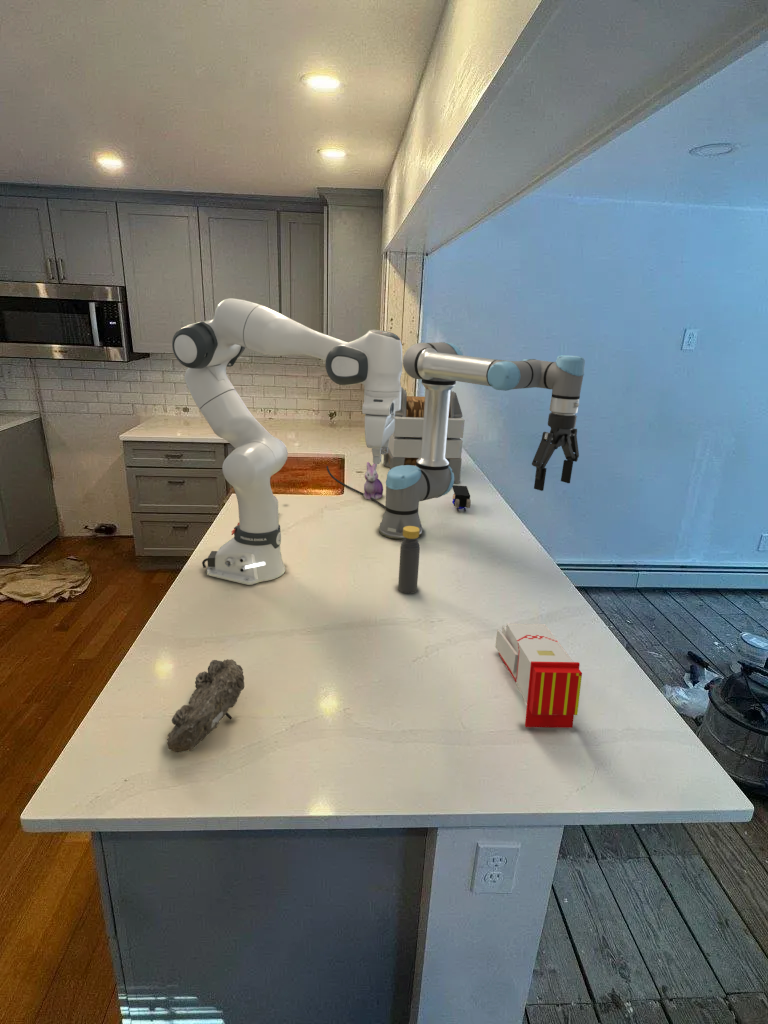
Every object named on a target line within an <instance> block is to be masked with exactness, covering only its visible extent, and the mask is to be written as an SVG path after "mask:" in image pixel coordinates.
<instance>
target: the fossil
mask: <svg viewBox="0 0 768 1024" xmlns="http://www.w3.org/2000/svg"><path fill="white" fill-rule="evenodd" d="M243 670H244V669H243V667H242V665H240V664H237V662H236V661H235V660H234V659H232V658H231V659H227V658H226V659H224V660H223V661H222V660H217V659H212V660H211V661H210V663H209V665H208V666H207V671H201V672H199V673H198V674H197V675H196V676H195V680H194V684H195V685H194V687H195V689H194V690H193V693H192V694H191V697H190V698H189V700H188V704H184V705H182V706H181V707H180V709H177V710H176V711H175V713H174V715H173V716H172V718H171V723H172V724H173V727H172V730H171V731H170V732H168V734H167V738H166V741H167V742H166V745H167V749H168V750H169V751H173V752H174V753H176V754H178V753H182V752H188V751H189V752H192V751H193V750H195V748H196V747H197V746H199V744H200V743H201V742H203V741H204V740H205V739H206V738H207V737H208V736H209V735H210V734H211V733H212V732H214V730H215V729H217V727H218V726H219V724H220V722H221V721H222V720H223V719H224V718H225V716H226V717H227V719H229V720H233V717H232V715H230V714H229V710H230V709H231V708H234V706H235V704H236V703H237V702H238V699H239V697H240V695H241V693H242V691H243V690H245V689H244V688H245V675H244V671H243Z"/></svg>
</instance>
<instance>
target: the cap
mask: <svg viewBox="0 0 768 1024" xmlns="http://www.w3.org/2000/svg"><path fill="white" fill-rule="evenodd" d="M419 532H420V530H419V528H418V527H415V526H406V527H404V528H403V536H404V537H405V538H409V539H415V538H417V539H418V538H420V537H419Z"/></svg>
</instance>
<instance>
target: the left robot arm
mask: <svg viewBox="0 0 768 1024" xmlns="http://www.w3.org/2000/svg"><path fill="white" fill-rule="evenodd" d="M171 349H172V352H173V355H174V356H175V357H174V358H176V360H177V361H178V362H179V363H180V364H181V365H182V366H184V367H186V368H187V369H186V370H185V372H184V381H185V385H186V387H187V389H188V391H189V393H190V395H191V398H192V399H193V401H194V403H195V404H196V406H197V408H198V410H199V411H200V413H201V414H202V416H203V417H204V419H205V420H206V422H207V424H208V425H209V426H210V428H211V430H212V431H213V433H214V434H215V435H216V436H217V437H219V438H221V439H223V440H224V441H226V442H227V443H229V444H230V445H231V446H232V447H233V448H234V449H233V450H232V451H231V452H230V453H229V454H228V455H227V457H225V459H224V460H223V463H222V468H221V469H222V474H223V477H224V479H225V480H226V482H227V483H228V484H229V485H230V486H231V487H232V488H233V490H234V493H235V496H236V500H237V501H236V502H237V506H238V519H239V520H238V522H237V523H236V524H237V525H236V526H235V527H233V529H232V530H231V536H233V537H232V538H231V539H229V540H228V541H226V542H224V543H223V544H222V545H221V546H220V547H219V548H218V549H217V550H211V551H210V553H209V555H208V556H207V557H206V558H204V559H203V560H202V561H201V565H202V568H203V569H206V575H207V576H210V577H212V578H218V579H221V580H225V581H229V582H234V583H239V584H243V585H247V586H252V585H255V584H258V583H260V582H261V583H262V582H268V581H271V580H275V579H277V578H280V577H281V576H283V575H284V573H286V566H285V564H284V560H283V555H282V550H281V543H282V532H281V525H280V521H279V520H280V519H279V518H280V517H279V515H280V512H279V500H278V498H277V496H276V495H274V493H273V490H272V486H271V478H272V476H274V475H275V474H276V473H278V472H279V471H280V470H282V468H283V467H284V466H285V464H286V462H287V461H288V457H289V452H288V448H287V446H286V444H285V443H284V441H282V439H280V438H278V437H276V436H275V435H272V434H271V433H270V432H269V431H268V430H267V429H266V428H265V427H264V426H263V424H261V423H260V421H258V419H256V417H255V416H254V415H253V414H252V413H251V411H250V410H249V408H248V407H247V405H246V404H245V401H243V398H242V397H241V395H240V394H239V393H238V391H237V389H236V388H235V386H234V384H232V382H231V380H230V378H229V376H228V374H227V367H230V368H231V367H233V366H234V365H235V364H236V362H237V360H238V359H239V358H240V356H242V354H243V353H244V352H245V349H247V350H250V351H252V352H254V353H257V354H261V355H266V356H273V357H284V356H307V357H308V356H309V357H313V358H316V359H319V360H322V361H325V371H326V374H327V376H328V377H329V379H330V380H331V381H332V382H333V383H334V384H337V385H339V386H345V387H348V386H353V385H358V384H359V385H360V384H362V385H363V403H362V406H361V407H362V408H361V413H362V414H363V415H364V438H365V446H366V448H367V449H371V454H372V464H377V465H380V464H381V462H382V455H383V456H384V455H386V454H387V453H388V445H389V440H390V437H391V435H392V434H393V433H394V430H395V412H396V411H399V410H400V409H401V387H402V383H401V377H402V375H403V357H404V356H403V345H402V340H401V337H399V336H398V334H395V333H393V332H390V331H388V330H380V329H369V330H368V331H367V332H366V333H365V334H364V335H362V336H360V337H358V338H356V339H354V340H351V341H348V340H344V339H341V338H338V337H335V336H332V335H329V334H327V333H323V332H321V331H318V330H316V329H312V328H310V327H309V326H306V325H304V324H302V323H300V322H298V321H296V320H294V319H292V318H290V317H288V316H286V315H284V314H283V313H280V312H278V311H276V310H274V309H271V308H269V307H267V306H265V305H263V304H259V303H256V302H252V301H249V300H245V299H240V298H232V297H230V298H225V299H223V300H221V301H220V302H219V303H218V304H217V306H216V307H215V310H214V314H213V317H212V319H208V320H203V321H198V322H193V323H190V324H187V325H185V326H183V327H181V328H179V329H178V330H177V331H176V332H175V333H174V335H173V336H172V340H171ZM206 562H207V566H206ZM206 567H207V568H206Z"/></svg>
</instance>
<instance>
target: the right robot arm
mask: <svg viewBox="0 0 768 1024" xmlns="http://www.w3.org/2000/svg"><path fill="white" fill-rule="evenodd" d="M402 357H403V364H402V367H403V369H404V372H405V373H406V374H407V375H408V376H409V377H411V378H412V379H415V380H421V385H422V386H423V387H424V389H425V392H424V397H425V404H424V419H423V434H422V449H421V457H420V458H418V459H417V461H416V466H413V465H401V466H396V467H394V468H392V469H390V468H389V470H388V472H387V474H386V479H385V504H383V503H381V502H380V501H378V499H373V498H370V499H371V501H373V502H374V503H376V504H377V505H379V506H380V507H382V508H383V509H384V513H383V515H382V519H381V522H379V526H378V533H379V534H380V535H381V536H382V537H385V538H387V539H389V540H395V541H403V540H404V538H405V537H404V536H403V528H404V527H406V526H415V527H418V528H419V530H420V532H419V537H418V538H420V537H421V536H422V535H423V525H422V524H421V518H420V515H419V507H420V506H419V505H420V502H423V501H427V500H431V499H437V498H440V497H443V496H446V495H448V493H450V492H451V490H453V485H455V483H454V473H452V469H451V467H450V466H449V462H448V461H447V459H446V458H445V453H446V441H447V428H448V416H449V404H450V392H451V391H452V389H453V388H454V387H455V386H456V384H457V382H461V383H465V384H473V385H479V386H487V387H491V388H492V389H494V390H496V391H503V392H504V391H511V390H520V389H532V388H533V389H534V388H539V389H546V390H551V398H550V404H549V413H548V418H547V419H548V420H547V426H548V427H549V428H550V431H549V432H548V431H543V432H542V435H541V440H540V442H539V445H538V447H537V449H536V452H535V454H534V457H533V460H532V461H531V466H533V467H535V475H534V477H535V478H534V485H533V489H534V490H537V491H539V492H543V491H544V489H545V484H546V483H545V482H546V476H547V468H546V466H547V465H548V463H549V461H550V459H551V457H552V456H553V454H554V453H555V451H556V450H557V449H558V448H560V447H561V449H562V452H563V455H564V458H565V459H563V463H562V468H561V469H562V470H561V475H560V482H562V483H566V484H571V478H572V472H573V466H574V463H576V462H578V461H579V457H580V453H579V444H578V428H576V423H577V419H578V416H577V414H578V412H579V411H578V410H579V406H580V397H581V391H582V385H583V380H584V376H585V365H586V360H585V358H584V357H582V356H578V355H566V354H565V355H564V354H563V355H558V356H557V357H556V360H555V361H549V360H541V359H536V358H524V359H521V360H506V359H505V360H504V359H503V360H502V359H496V358H487V357H479V356H471V355H464V354H463V352H462V350H461V349H460V347H459V346H457V345H456V344H455V343H451V342H445V341H443V342H442V341H441V342H440V341H439V342H438V341H437V342H417V343H414V344H412V345H411V346H409V347H408V348H407V350H406V351H405V353H404V355H403V356H402ZM326 470H327V473H328V475H329V477H331V478H332V479H333V480H335V481H336V483H338V484H340V485H341V486H344V488H347V489H349V490H351V491H352V492H355V493H357V494H359V495H360V496H363V495H364V492H362V491H360V490H357V489H356V488H353V487H351V486H349V485H347V484H345V483H344V482H342V481H340V480H339V479H338V478H336V477H335V476H334V475H333V474H332V472H331V471H330V469H329V466H328V465H326Z"/></svg>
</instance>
